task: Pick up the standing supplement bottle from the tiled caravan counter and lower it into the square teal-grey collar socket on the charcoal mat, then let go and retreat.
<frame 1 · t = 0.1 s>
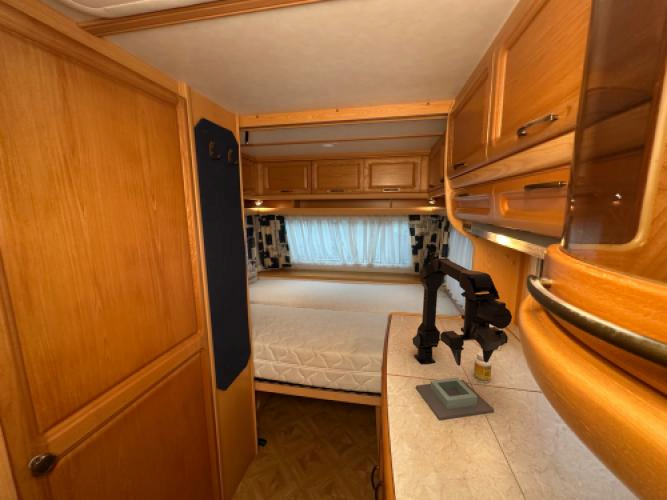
hand: (472, 363, 83), 15 cm above the worktop, tool pointing down, fingers open, 9 cm apart
supplement bottle: (481, 379, 99), on the worktop
socket: (452, 399, 88), on the worktop
coffeecake box: (482, 343, 125), on the worktop
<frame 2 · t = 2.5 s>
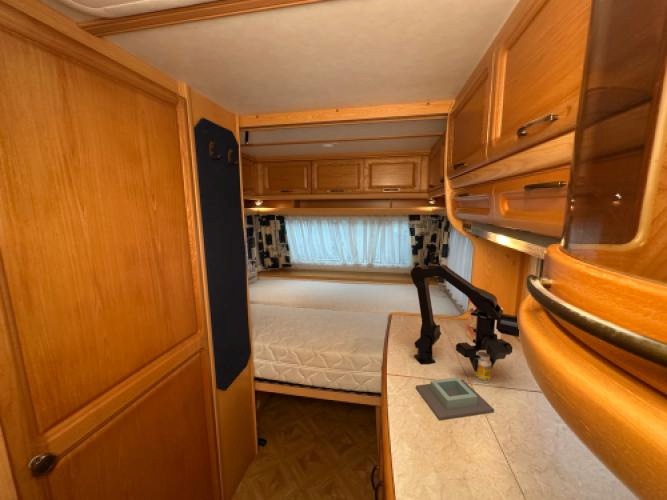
hand: (482, 369, 98), 4 cm above the worktop, tool pointing down, fingers closed on supplement bottle, 5 cm apart
supplement bottle: (481, 379, 99), on the worktop, touching gripper
everything else where it was.
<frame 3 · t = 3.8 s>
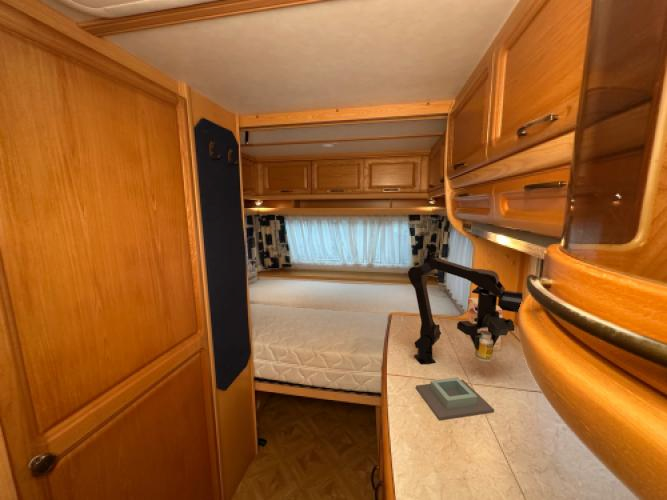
hand: (483, 348, 97), 12 cm above the worktop, tool pointing down, fingers closed on supplement bottle, 5 cm apart
supplement bottle: (483, 358, 98), point 8 cm above the worktop, touching gripper
everything else where it was.
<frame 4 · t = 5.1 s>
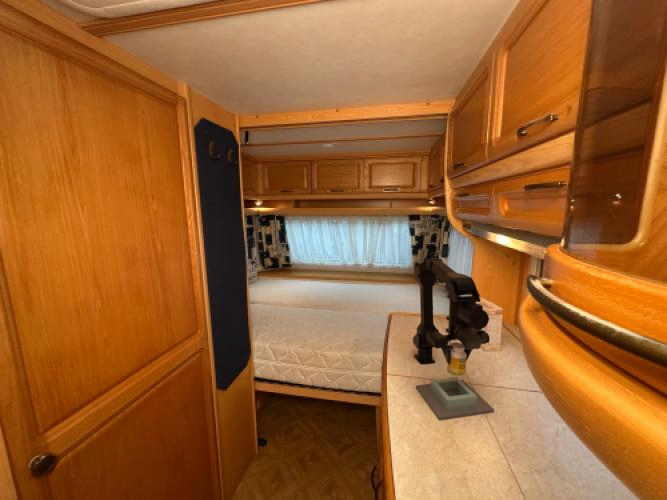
hand: (456, 362, 87), 13 cm above the worktop, tool pointing down, fingers closed on supplement bottle, 5 cm apart
supplement bottle: (456, 373, 88), point 9 cm above the worktop, touching gripper
everything else where it was.
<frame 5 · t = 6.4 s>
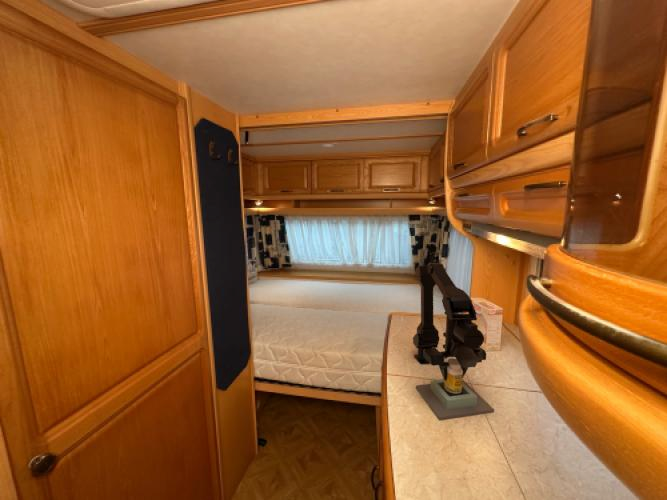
hand: (453, 378, 87), 7 cm above the worktop, tool pointing down, fingers closed on supplement bottle, 5 cm apart
supplement bottle: (452, 389, 88), point 3 cm above the worktop, touching gripper
everything else where it was.
when the fingers open (5 cm above the worktop, at t = 7.7 s): supplement bottle stays where it is, resting on socket.
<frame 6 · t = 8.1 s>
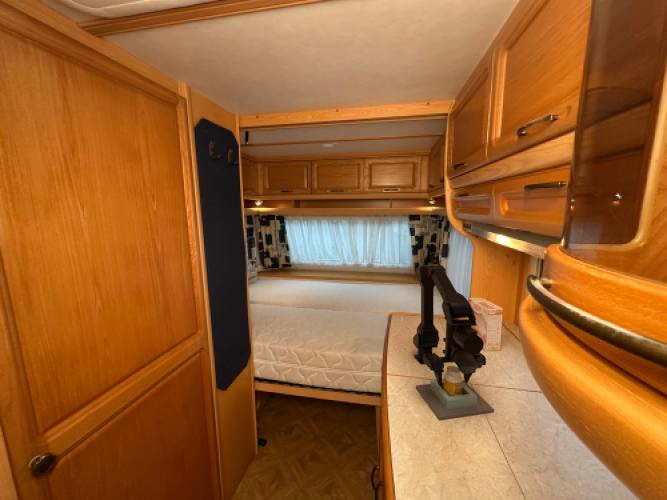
hand: (453, 383, 88), 5 cm above the worktop, tool pointing down, fingers open, 9 cm apart
supplement bottle: (452, 397, 88), point 1 cm above the worktop, touching socket
everything else where it was.
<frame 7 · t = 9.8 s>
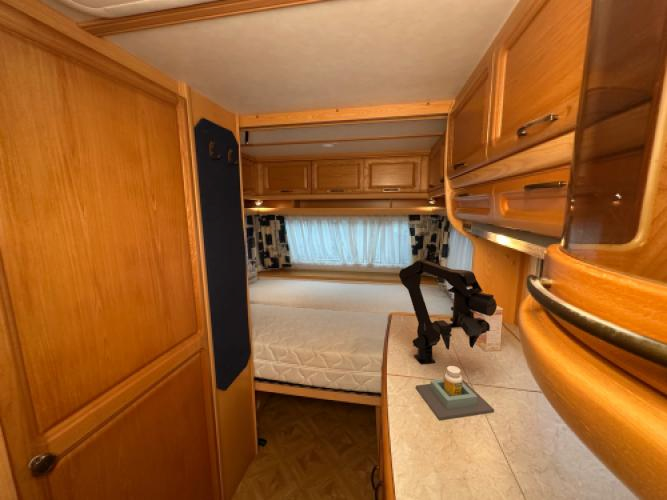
hand: (459, 348, 97), 12 cm above the worktop, tool pointing down, fingers open, 9 cm apart
nothing on the worktop moved.
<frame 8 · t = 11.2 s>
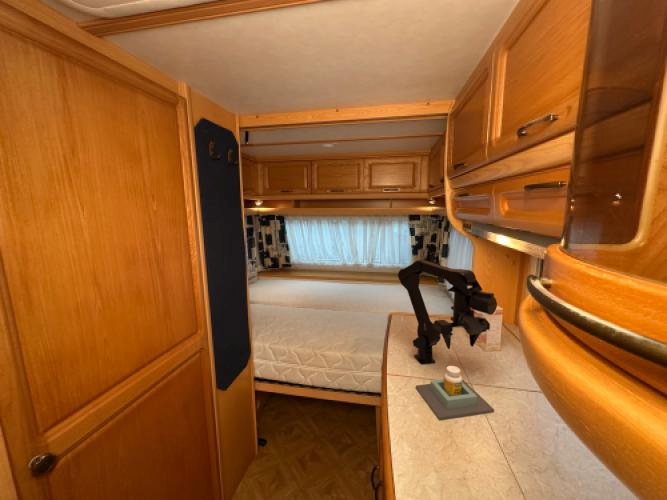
hand: (460, 347, 98), 12 cm above the worktop, tool pointing down, fingers open, 9 cm apart
nothing on the worktop moved.
at the end: supplement bottle 0.0 cm off-centre on the socket, point 0.8 cm above the socket's base; supplement bottle tilted 0°; the gripper is holding nothing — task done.
